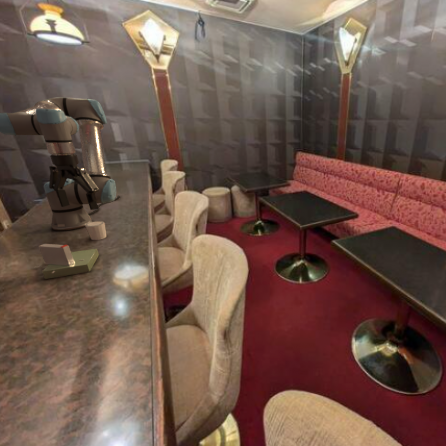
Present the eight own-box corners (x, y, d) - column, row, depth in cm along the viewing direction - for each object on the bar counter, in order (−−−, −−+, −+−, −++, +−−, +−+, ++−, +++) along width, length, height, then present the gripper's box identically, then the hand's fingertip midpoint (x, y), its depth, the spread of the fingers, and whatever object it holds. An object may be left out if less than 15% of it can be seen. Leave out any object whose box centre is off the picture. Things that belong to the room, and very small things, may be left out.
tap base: (49, 262, 92) (46, 255, 91) (98, 255, 98) (96, 248, 97) (28, 285, 79) (25, 277, 78) (87, 275, 85) (85, 267, 84)
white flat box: (45, 264, 86) (38, 245, 83) (51, 261, 87) (44, 242, 85) (69, 265, 85) (62, 247, 82) (74, 263, 87) (68, 244, 84)
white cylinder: (97, 241, 109) (93, 227, 107) (85, 239, 110) (80, 225, 108) (111, 235, 116) (108, 221, 113) (99, 233, 117) (95, 220, 114)
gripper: (101, 154, 94) (114, 207, 102) (46, 151, 98) (63, 202, 106) (82, 157, 87) (98, 213, 95) (23, 153, 91) (44, 207, 99)
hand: (79, 207), depth 100 cm, fingers open, 13 cm apart
